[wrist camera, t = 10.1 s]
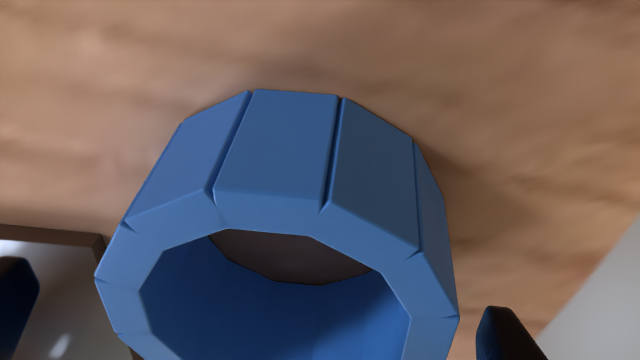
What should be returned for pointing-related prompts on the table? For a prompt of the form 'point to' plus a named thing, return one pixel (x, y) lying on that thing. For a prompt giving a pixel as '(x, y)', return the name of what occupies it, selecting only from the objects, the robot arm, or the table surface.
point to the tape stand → (64, 296)
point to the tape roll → (285, 218)
